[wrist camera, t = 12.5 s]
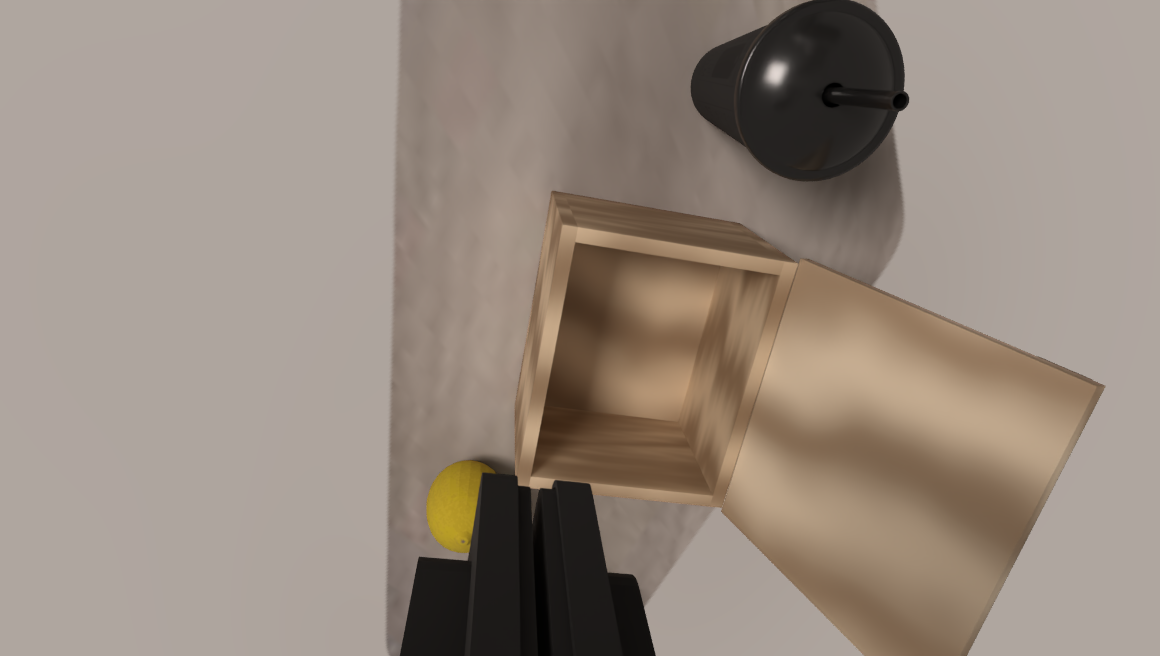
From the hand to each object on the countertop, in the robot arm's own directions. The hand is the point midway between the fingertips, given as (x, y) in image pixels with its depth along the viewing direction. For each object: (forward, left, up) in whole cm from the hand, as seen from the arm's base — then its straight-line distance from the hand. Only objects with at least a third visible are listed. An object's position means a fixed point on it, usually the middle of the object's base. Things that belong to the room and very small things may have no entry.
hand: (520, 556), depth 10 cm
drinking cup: (-8, +12, -35) cm, 38 cm away
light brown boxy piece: (+8, +9, -35) cm, 37 cm away
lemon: (+22, 0, -35) cm, 42 cm away
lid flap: (+8, +18, -18) cm, 27 cm away
